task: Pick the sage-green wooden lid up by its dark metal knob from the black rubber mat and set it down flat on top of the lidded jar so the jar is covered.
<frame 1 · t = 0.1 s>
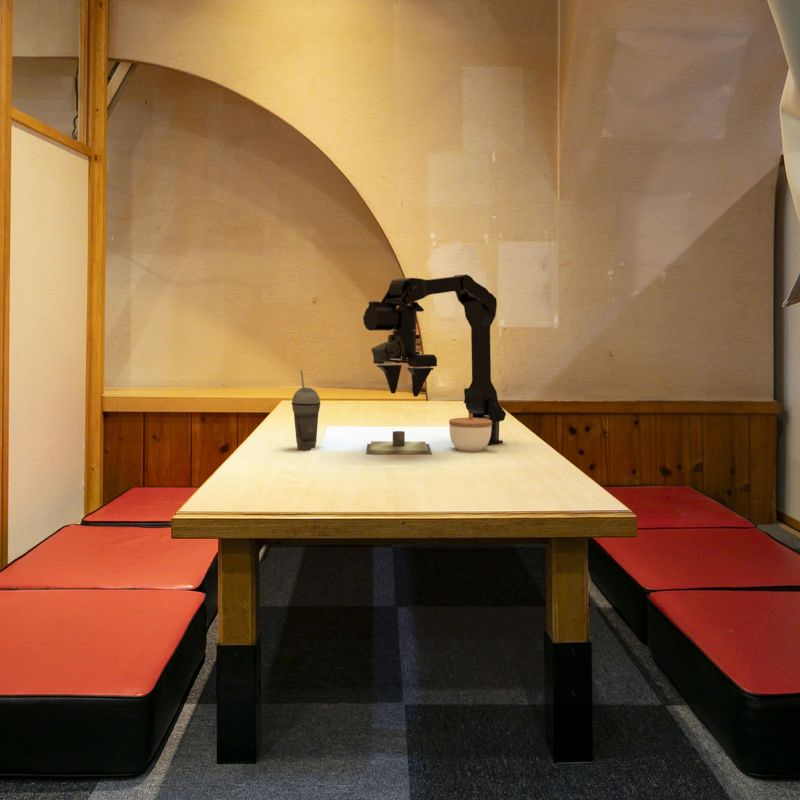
hand: (404, 394, 186), 14 cm above the table, fingers open, 9 cm apart
lidded jar: (470, 451, 192), on the table
lid: (398, 448, 191), resting on mat
mat: (398, 450, 191), on the table
beverage cup: (306, 449, 193), on the table
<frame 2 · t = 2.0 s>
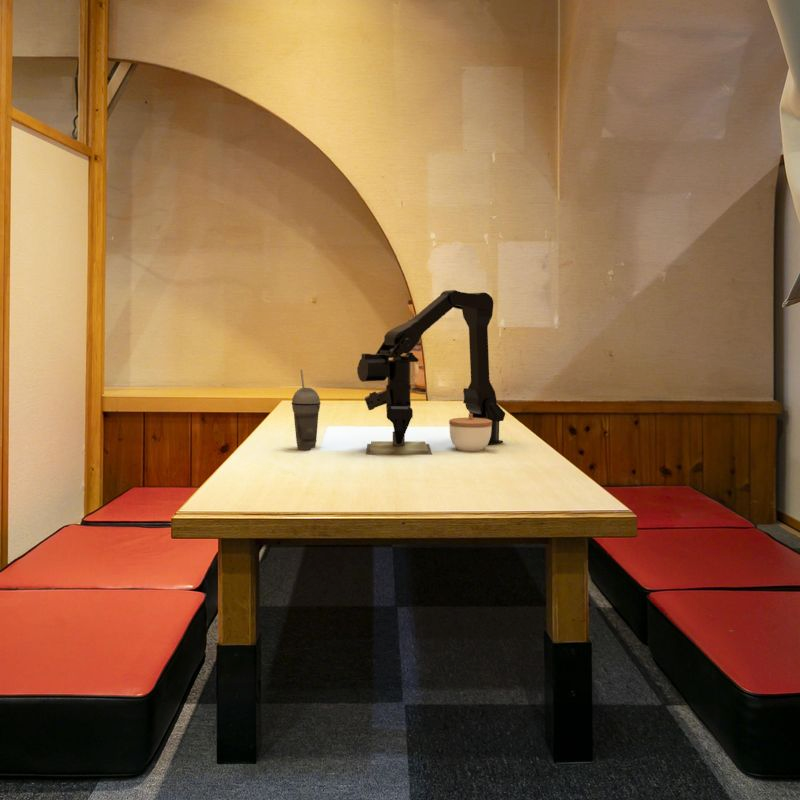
hand: (398, 442, 191), 2 cm above the table, fingers closed on lid, 3 cm apart
lid: (398, 448, 191), resting on mat, touching gripper
everything else where it was.
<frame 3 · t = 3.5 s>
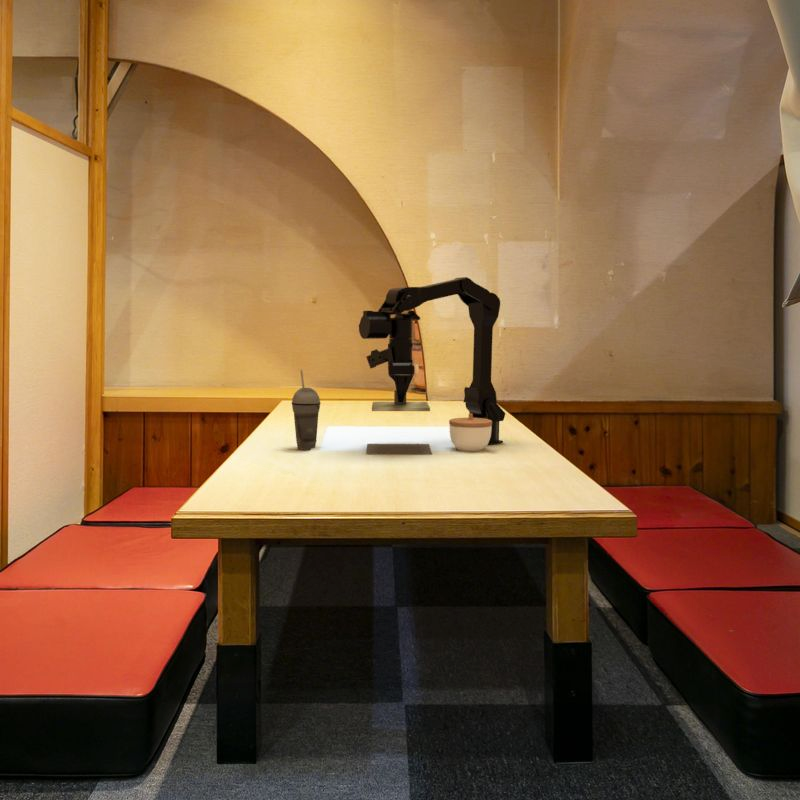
hand: (400, 401, 190), 12 cm above the table, fingers closed on lid, 3 cm apart
lid: (400, 407, 190), point 11 cm above the table, touching gripper
everything else where it was.
when the fingers open (12 cm above the table, at t = 5.1 s): lid stays where it is, resting on lidded jar.
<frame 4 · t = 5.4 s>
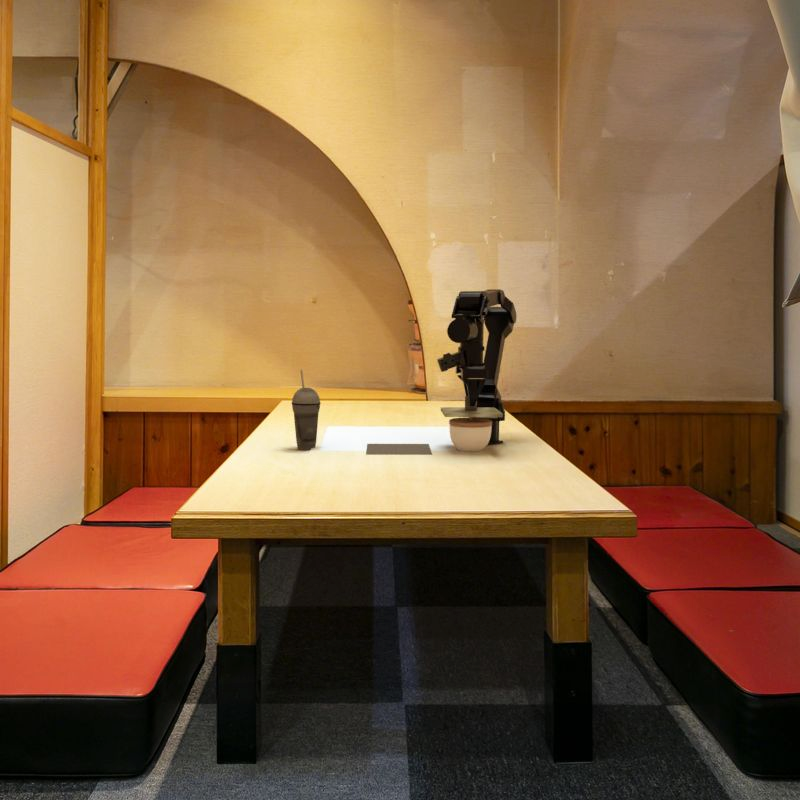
hand: (470, 404, 191), 12 cm above the table, fingers open, 6 cm apart
lidded jar: (470, 451, 192), on the table, touching lid
lid: (470, 413, 191), point 9 cm above the table, touching lidded jar
everything else where it was.
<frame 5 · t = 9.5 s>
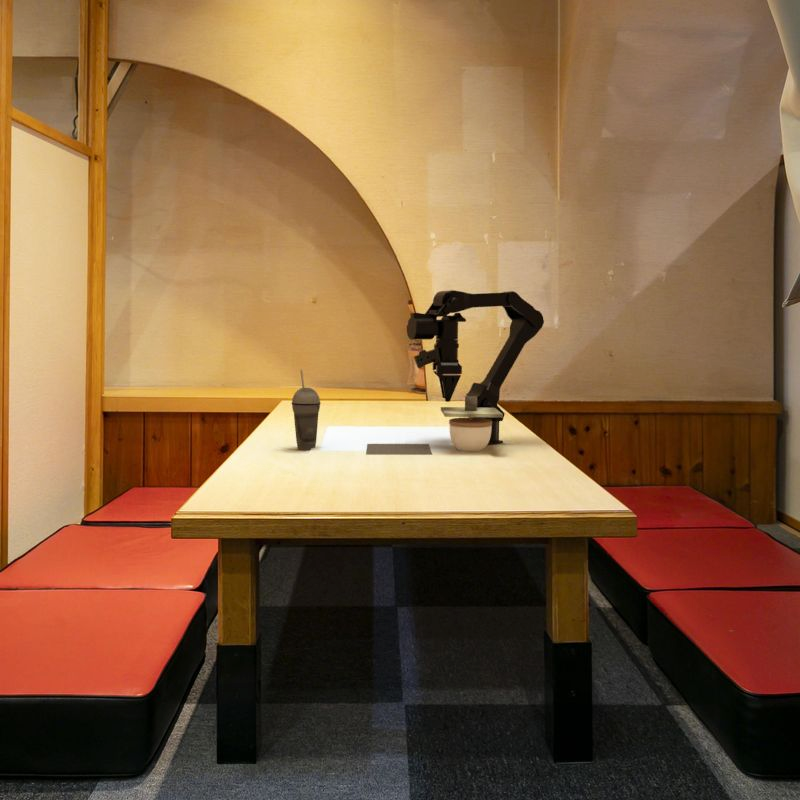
hand: (446, 399, 198), 12 cm above the table, fingers open, 9 cm apart
nothing on the table moved.
at the end: lid 0.0 cm from the lidded jar (horizontally); lid point 9.4 cm above the table; lid tilted 1° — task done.
